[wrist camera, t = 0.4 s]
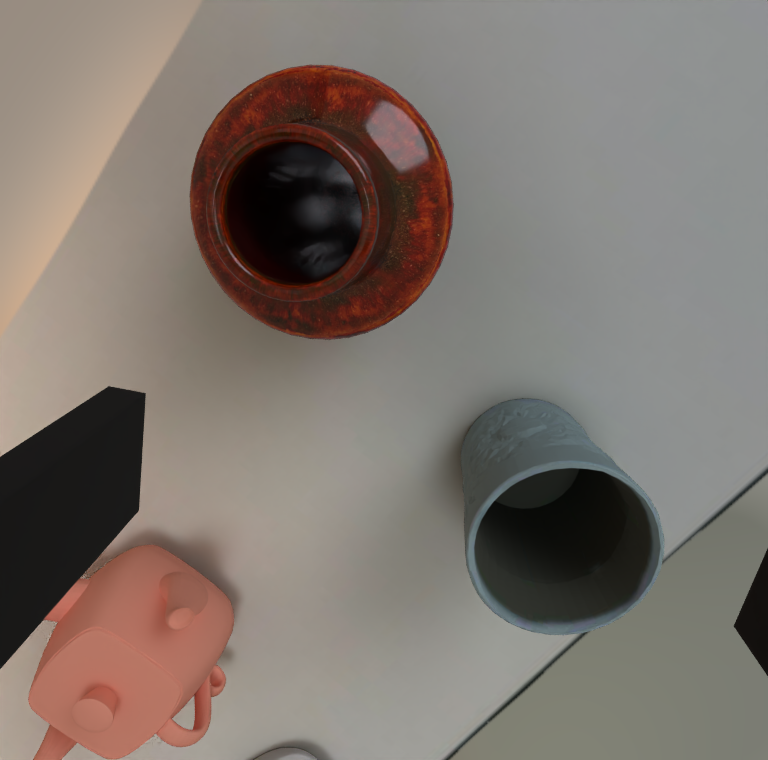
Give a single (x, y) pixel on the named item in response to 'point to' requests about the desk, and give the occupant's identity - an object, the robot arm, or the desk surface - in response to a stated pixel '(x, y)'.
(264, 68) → the desk surface
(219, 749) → the desk surface
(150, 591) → the teapot
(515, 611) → the grey-blue ceramic planter
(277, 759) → the computer mouse
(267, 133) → the vase
